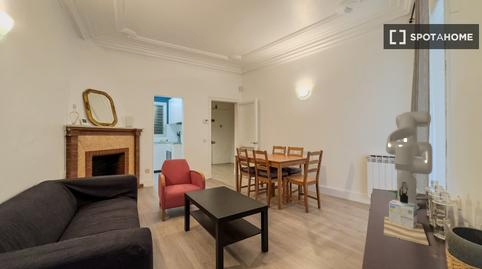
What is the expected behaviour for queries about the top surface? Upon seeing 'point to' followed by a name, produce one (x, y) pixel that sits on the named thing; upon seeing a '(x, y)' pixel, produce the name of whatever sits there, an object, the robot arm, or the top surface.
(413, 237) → the oak board
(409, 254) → the top surface
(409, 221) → the light bulb box
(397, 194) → the figurine
